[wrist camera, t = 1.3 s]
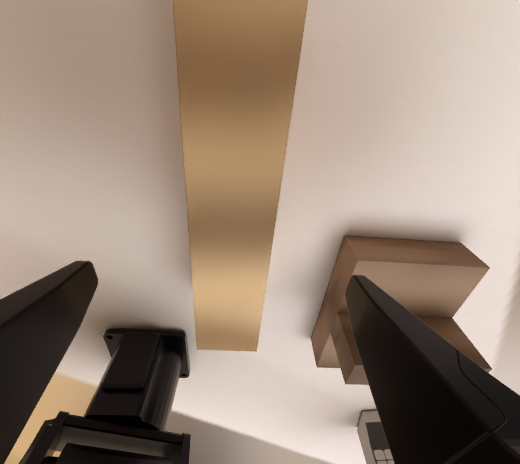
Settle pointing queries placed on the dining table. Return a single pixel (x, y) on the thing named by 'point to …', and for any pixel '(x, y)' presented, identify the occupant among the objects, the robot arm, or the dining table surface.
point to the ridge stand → (397, 294)
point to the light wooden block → (234, 152)
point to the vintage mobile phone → (374, 439)
